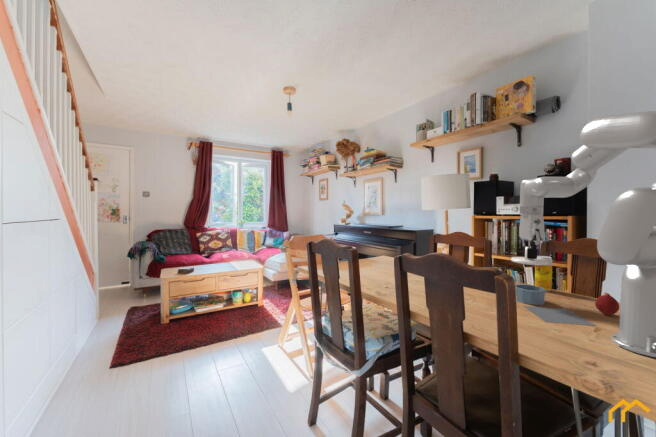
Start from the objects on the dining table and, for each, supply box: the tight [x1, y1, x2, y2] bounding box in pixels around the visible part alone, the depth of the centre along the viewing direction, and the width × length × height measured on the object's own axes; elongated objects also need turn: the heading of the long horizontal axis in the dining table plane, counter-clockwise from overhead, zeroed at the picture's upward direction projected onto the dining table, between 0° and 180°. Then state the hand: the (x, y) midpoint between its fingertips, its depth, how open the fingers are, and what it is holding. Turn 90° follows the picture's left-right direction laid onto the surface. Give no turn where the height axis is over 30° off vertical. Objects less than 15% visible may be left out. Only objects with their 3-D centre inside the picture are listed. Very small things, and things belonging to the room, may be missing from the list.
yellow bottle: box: [534, 255, 553, 292], centre depth 126 cm, size 6×6×15 cm
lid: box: [510, 246, 549, 266], centre depth 110 cm, size 12×12×6 cm
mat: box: [523, 305, 597, 327], centre depth 96 cm, size 15×14×1 cm
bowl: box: [516, 283, 546, 306], centre depth 111 cm, size 10×10×6 cm
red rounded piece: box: [594, 292, 620, 316], centre depth 96 cm, size 6×6×8 cm
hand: (529, 257), depth 110 cm, fingers closed on lid, 3 cm apart
